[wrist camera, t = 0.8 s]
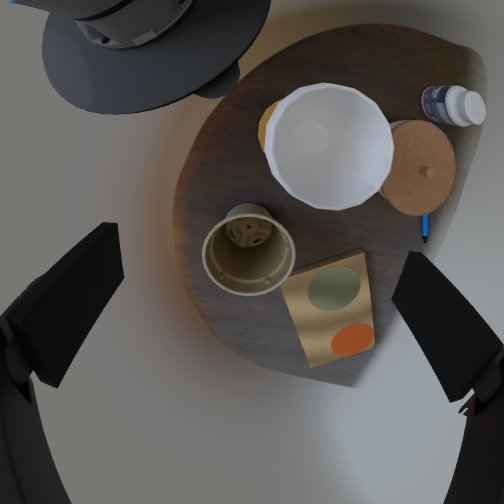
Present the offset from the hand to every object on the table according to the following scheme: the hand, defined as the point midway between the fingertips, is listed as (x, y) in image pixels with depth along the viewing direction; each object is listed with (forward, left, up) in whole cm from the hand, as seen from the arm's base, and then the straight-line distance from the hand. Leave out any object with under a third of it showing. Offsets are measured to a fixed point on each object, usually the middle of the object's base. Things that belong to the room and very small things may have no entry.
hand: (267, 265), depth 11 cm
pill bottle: (-2, +27, -23) cm, 35 cm away
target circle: (+32, +6, -21) cm, 39 cm away
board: (+26, +4, -23) cm, 35 cm away
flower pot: (+7, -3, -23) cm, 24 cm away
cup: (-2, +6, -23) cm, 24 cm away
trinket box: (+4, +17, -23) cm, 29 cm away
